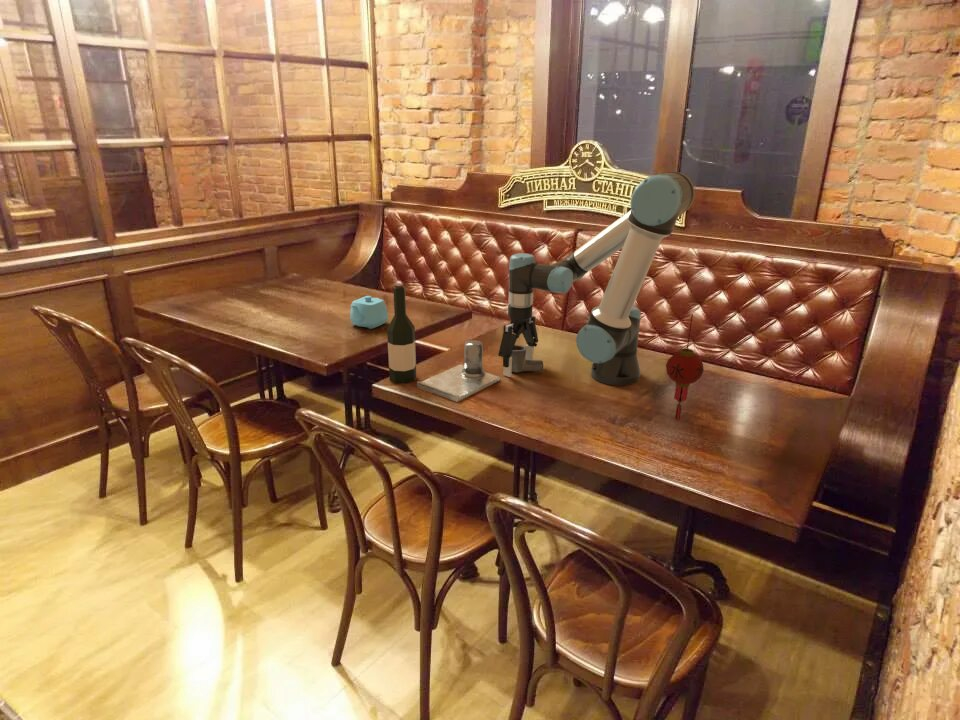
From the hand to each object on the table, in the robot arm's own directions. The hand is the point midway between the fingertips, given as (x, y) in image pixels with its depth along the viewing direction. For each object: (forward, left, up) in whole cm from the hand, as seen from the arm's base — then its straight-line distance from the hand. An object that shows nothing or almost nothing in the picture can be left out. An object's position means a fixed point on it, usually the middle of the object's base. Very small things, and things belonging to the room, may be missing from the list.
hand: (518, 370), depth 198 cm
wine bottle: (+24, +28, 0) cm, 37 cm away
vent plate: (+8, +20, 0) cm, 22 cm away
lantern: (-53, 0, 0) cm, 53 cm away
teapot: (+71, +1, 0) cm, 71 cm away
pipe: (-1, -1, -1) cm, 2 cm away
